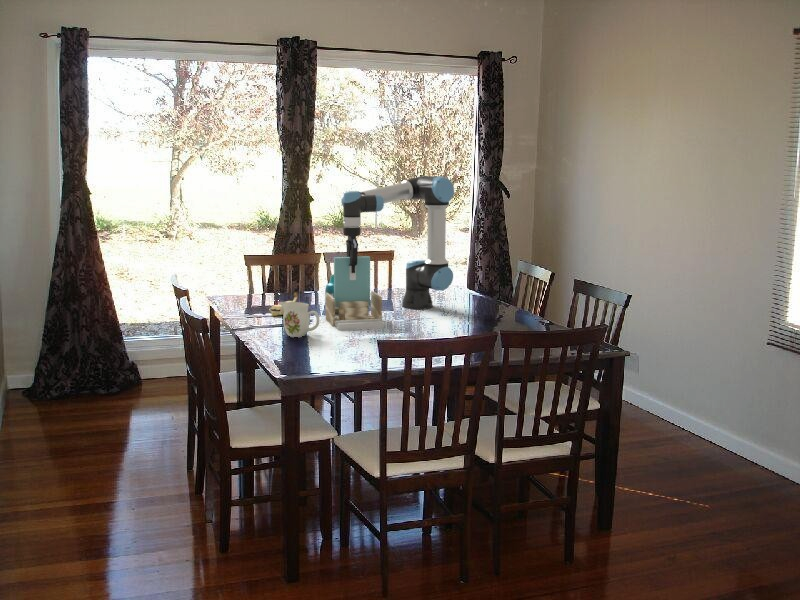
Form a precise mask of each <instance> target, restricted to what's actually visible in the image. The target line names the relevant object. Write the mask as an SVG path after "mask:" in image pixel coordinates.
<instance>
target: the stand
mask: <svg viewBox="0 0 800 600" xmlns="http://www.w3.org/2000/svg"><path fill="white" fill-rule="evenodd" d="M334 327H335V328H337V330H338V331H349V330H351V331H352V330H353V331H354V330H369V329H370V330H371V329H385V322H384V320H382V321H381V319H361V320H339V321H335V326H334Z"/></svg>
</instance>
